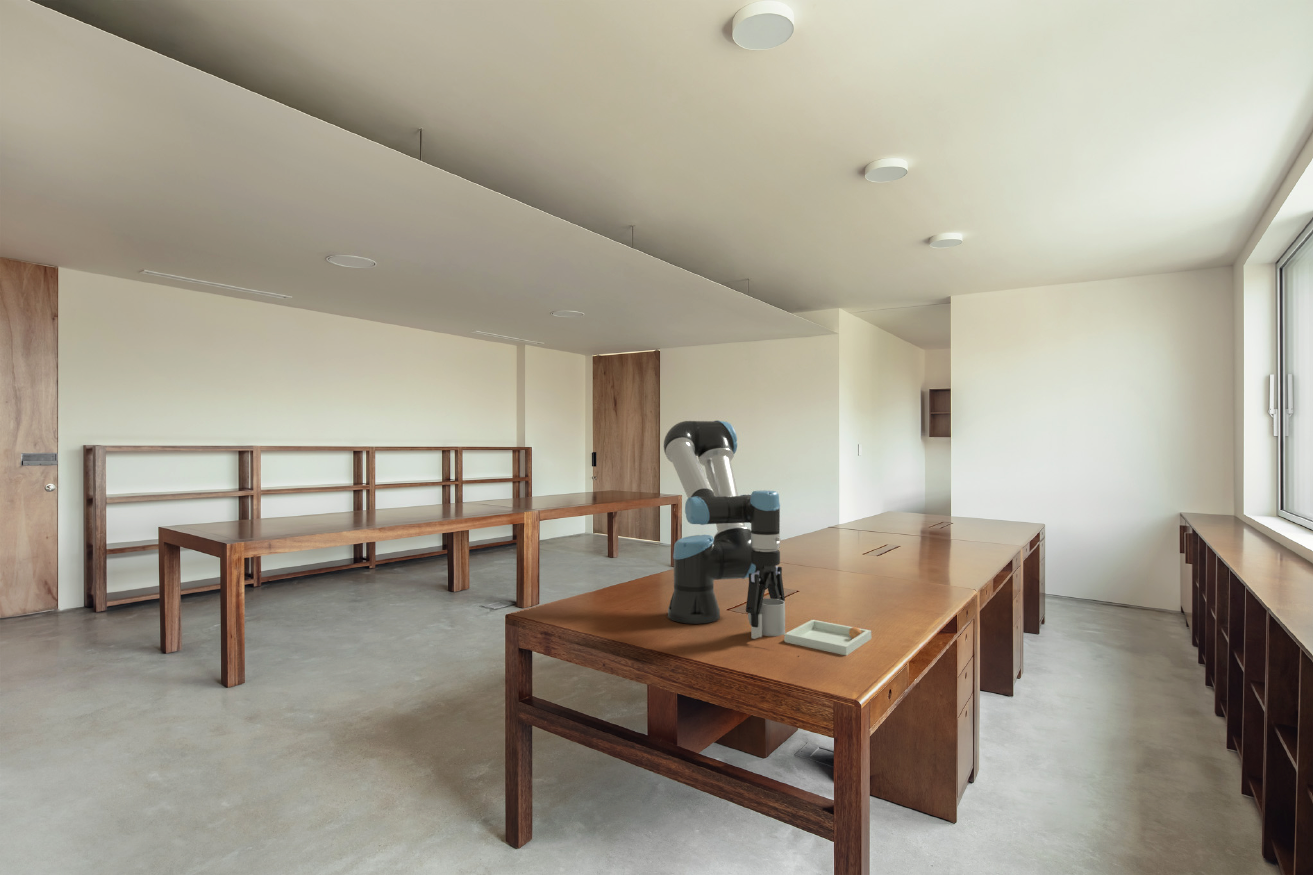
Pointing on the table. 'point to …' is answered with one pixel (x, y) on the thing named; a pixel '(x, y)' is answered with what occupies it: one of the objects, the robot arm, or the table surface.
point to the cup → (772, 617)
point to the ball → (854, 632)
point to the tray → (827, 637)
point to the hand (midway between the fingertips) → (766, 634)
